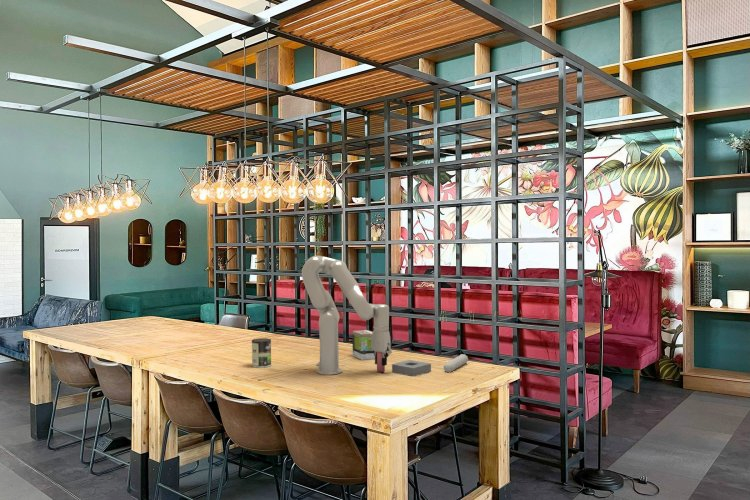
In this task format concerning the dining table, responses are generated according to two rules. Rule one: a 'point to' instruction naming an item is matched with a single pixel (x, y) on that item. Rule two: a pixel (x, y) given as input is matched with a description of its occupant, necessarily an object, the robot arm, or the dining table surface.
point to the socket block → (411, 367)
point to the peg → (380, 362)
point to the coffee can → (261, 353)
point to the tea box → (362, 345)
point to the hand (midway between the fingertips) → (380, 364)
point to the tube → (455, 363)
